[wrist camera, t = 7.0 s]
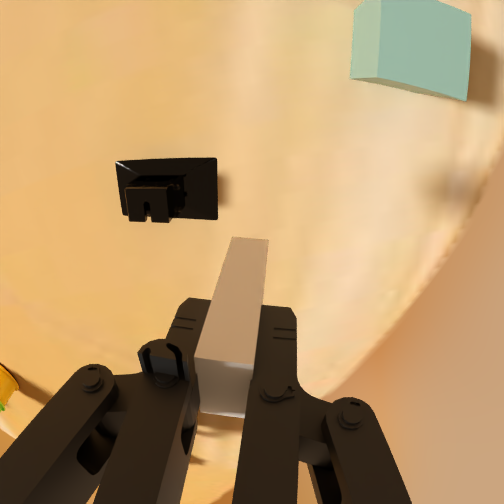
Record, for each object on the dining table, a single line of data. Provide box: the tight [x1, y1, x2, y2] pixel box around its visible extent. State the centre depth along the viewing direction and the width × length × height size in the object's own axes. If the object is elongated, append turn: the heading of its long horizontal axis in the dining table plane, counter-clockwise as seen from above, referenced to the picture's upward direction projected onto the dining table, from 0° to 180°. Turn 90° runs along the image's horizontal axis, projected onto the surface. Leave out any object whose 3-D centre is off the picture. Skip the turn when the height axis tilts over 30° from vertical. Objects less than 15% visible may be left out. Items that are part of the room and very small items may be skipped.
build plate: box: [115, 158, 218, 223], centre depth 26 cm, size 12×7×5 cm, turn 89°
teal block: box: [350, 0, 471, 101], centre depth 16 cm, size 6×6×8 cm
